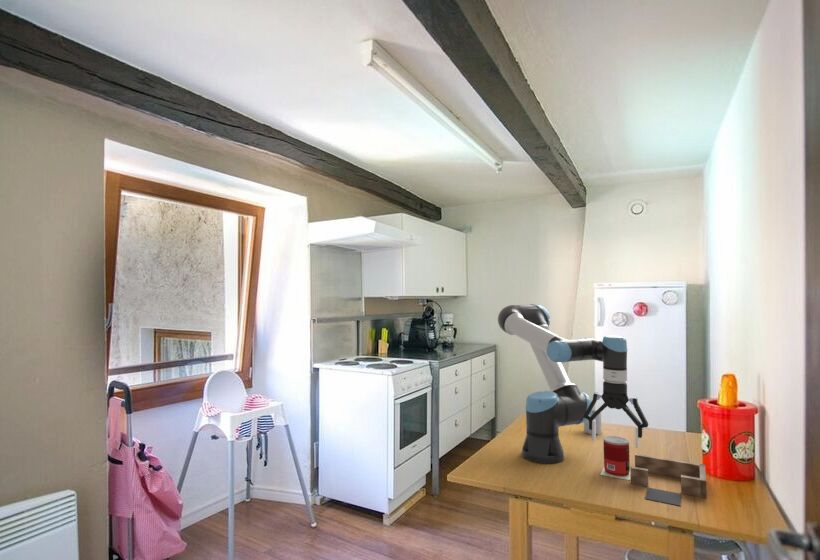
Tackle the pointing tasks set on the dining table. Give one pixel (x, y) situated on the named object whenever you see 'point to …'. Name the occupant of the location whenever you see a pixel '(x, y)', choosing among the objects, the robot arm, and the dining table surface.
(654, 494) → the mat
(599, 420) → the cup
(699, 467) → the wooden walled channel
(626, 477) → the pad
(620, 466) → the canned food
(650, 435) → the dining table surface
